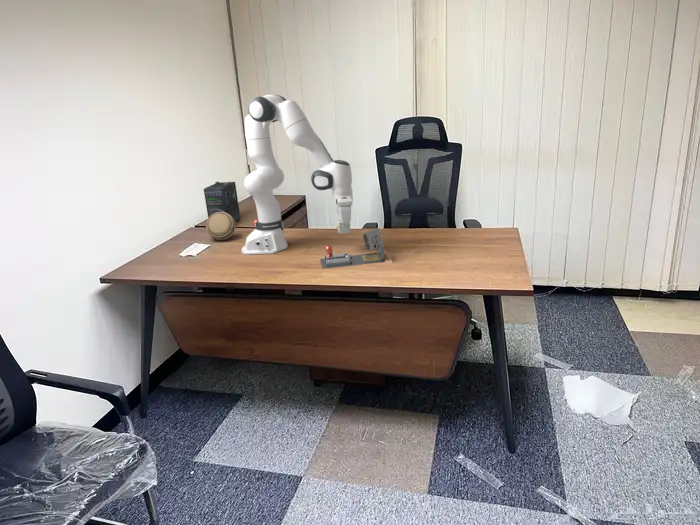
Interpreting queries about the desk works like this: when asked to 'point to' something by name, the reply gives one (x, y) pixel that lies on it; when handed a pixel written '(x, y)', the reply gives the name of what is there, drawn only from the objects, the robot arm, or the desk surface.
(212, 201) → the headset box
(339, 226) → the block
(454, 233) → the desk surface
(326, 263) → the press
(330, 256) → the ram
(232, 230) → the mechanical component
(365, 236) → the electrical switch
